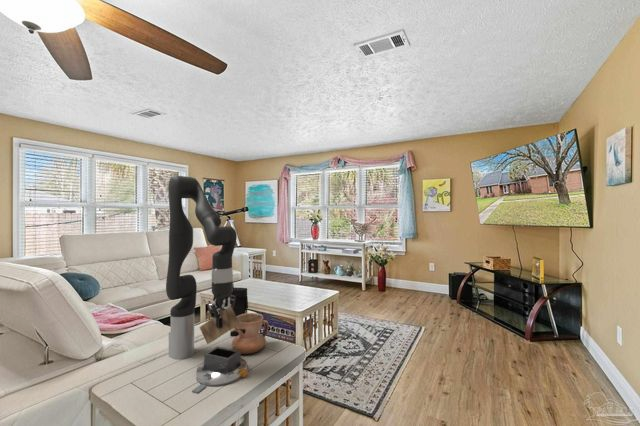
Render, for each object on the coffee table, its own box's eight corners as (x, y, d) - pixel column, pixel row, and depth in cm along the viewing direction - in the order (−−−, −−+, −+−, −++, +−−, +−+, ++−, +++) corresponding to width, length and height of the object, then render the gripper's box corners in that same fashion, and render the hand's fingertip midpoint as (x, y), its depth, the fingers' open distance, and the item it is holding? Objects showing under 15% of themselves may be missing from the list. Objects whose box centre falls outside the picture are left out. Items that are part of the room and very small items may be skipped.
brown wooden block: (199, 327, 114) (226, 309, 109) (205, 324, 117) (231, 306, 112) (207, 344, 112) (234, 326, 108) (213, 341, 115) (239, 323, 110)
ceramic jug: (236, 362, 120) (236, 326, 120) (224, 349, 131) (224, 316, 131) (276, 350, 130) (276, 317, 131) (261, 338, 142) (261, 308, 142)
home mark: (192, 392, 99) (192, 390, 99) (201, 385, 103) (201, 384, 103) (197, 393, 98) (197, 392, 98) (206, 387, 102) (206, 385, 102)
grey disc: (184, 379, 106) (185, 359, 106) (219, 357, 123) (219, 339, 123) (229, 391, 99) (229, 369, 99) (259, 366, 116) (259, 347, 116)
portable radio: (250, 332, 149) (250, 282, 149) (244, 337, 143) (244, 285, 143) (235, 331, 151) (235, 281, 151) (229, 336, 145) (229, 284, 145)
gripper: (226, 275, 120) (226, 319, 119) (200, 283, 107) (200, 331, 106) (242, 277, 117) (242, 321, 117) (217, 284, 104) (217, 334, 104)
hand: (222, 326), depth 112 cm, fingers closed on brown wooden block, 3 cm apart
